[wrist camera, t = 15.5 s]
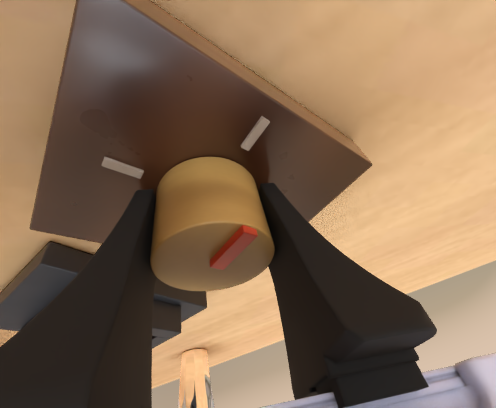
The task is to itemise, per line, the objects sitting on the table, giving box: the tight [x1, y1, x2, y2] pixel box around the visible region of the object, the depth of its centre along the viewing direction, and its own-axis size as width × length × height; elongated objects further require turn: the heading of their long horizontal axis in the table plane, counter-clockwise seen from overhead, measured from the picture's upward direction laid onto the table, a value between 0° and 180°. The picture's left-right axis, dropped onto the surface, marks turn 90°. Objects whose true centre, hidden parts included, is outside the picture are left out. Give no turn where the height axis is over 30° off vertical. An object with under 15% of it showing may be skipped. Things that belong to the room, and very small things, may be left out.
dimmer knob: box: [150, 157, 275, 291], centre depth 10 cm, size 4×4×4 cm
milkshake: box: [178, 349, 215, 408], centre depth 30 cm, size 4×5×10 cm
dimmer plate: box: [30, 0, 372, 243], centre depth 12 cm, size 12×10×2 cm
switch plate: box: [0, 242, 207, 348], centre depth 19 cm, size 12×9×4 cm
